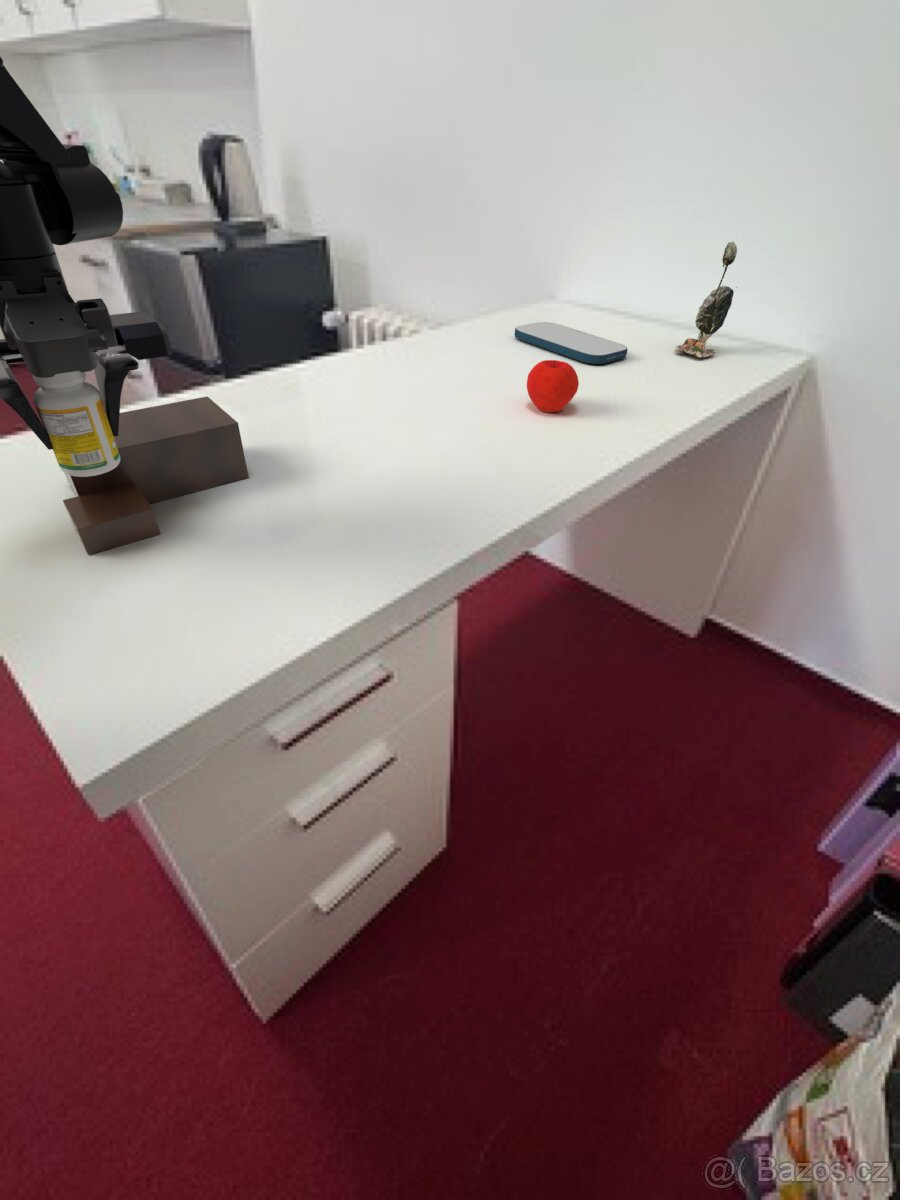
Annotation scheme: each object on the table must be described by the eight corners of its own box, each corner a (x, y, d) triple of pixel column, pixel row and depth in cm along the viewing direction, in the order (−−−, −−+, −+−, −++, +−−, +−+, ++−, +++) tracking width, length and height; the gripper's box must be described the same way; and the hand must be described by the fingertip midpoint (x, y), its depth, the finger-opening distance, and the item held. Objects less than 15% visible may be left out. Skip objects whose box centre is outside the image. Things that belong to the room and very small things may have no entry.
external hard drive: (507, 337, 125) (508, 327, 123) (545, 330, 130) (547, 320, 129) (594, 368, 111) (596, 357, 109) (632, 358, 116) (634, 347, 115)
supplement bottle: (92, 482, 55) (52, 378, 49) (47, 471, 57) (4, 369, 51) (134, 459, 59) (103, 360, 53) (92, 450, 61) (57, 352, 55)
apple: (568, 399, 97) (575, 353, 93) (579, 418, 91) (588, 369, 87) (520, 399, 97) (525, 352, 92) (528, 418, 91) (534, 368, 86)
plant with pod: (730, 353, 121) (766, 240, 109) (696, 362, 116) (730, 244, 103) (696, 343, 126) (727, 234, 114) (662, 351, 121) (691, 237, 108)
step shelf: (88, 555, 59) (61, 492, 55) (54, 487, 69) (30, 429, 65) (272, 501, 68) (263, 444, 64) (219, 448, 79) (207, 396, 74)
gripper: (-138, 283, 37) (-24, 503, 47) (167, 262, 46) (210, 449, 56) (-138, 255, 44) (-38, 452, 54) (129, 241, 53) (173, 412, 63)
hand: (83, 441), depth 56 cm, fingers closed on supplement bottle, 5 cm apart
